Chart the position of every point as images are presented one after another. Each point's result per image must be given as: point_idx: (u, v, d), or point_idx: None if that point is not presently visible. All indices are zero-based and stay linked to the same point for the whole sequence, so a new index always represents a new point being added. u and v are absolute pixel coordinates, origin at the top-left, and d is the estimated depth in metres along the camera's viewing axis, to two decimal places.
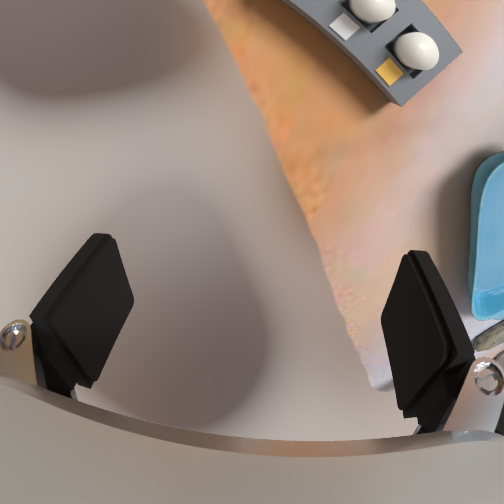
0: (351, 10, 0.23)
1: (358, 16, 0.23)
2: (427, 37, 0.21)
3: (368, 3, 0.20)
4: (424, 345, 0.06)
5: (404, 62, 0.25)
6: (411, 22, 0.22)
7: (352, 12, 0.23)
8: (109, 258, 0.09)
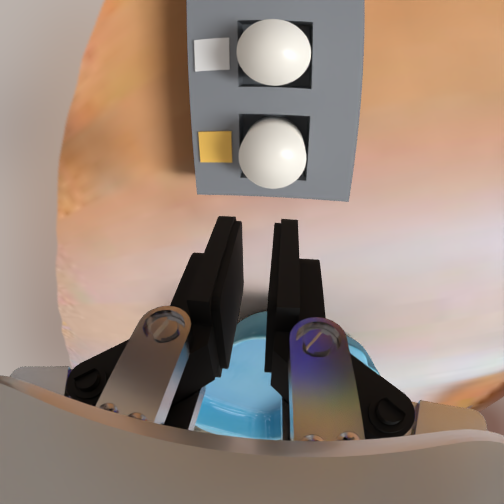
0: None
1: None
2: (300, 149, 0.18)
3: (261, 46, 0.15)
4: None
5: None
6: (311, 115, 0.19)
7: None
8: (239, 241, 0.09)
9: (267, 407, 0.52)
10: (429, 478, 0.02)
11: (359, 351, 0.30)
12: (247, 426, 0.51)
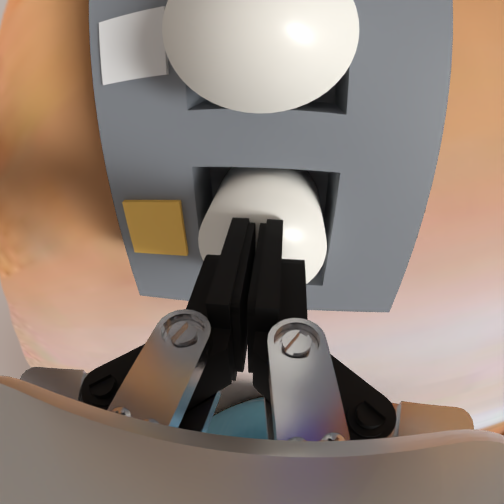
0: None
1: None
2: (317, 235, 0.10)
3: (223, 10, 0.05)
4: None
5: None
6: (342, 171, 0.10)
7: None
8: (253, 243, 0.09)
9: None
10: (429, 478, 0.02)
11: None
12: None
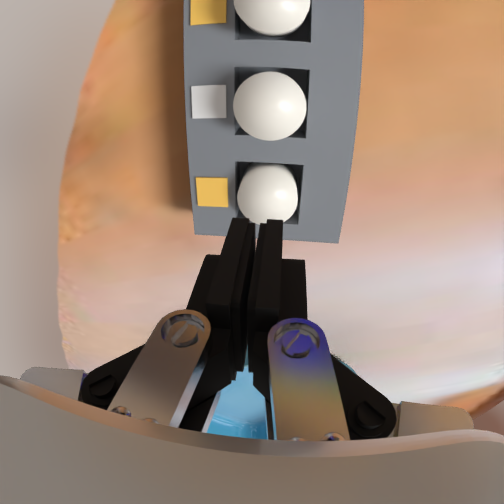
0: None
1: None
2: (293, 192, 0.21)
3: (257, 100, 0.16)
4: None
5: None
6: (305, 164, 0.21)
7: None
8: (253, 243, 0.09)
9: (254, 419, 0.53)
10: (429, 478, 0.02)
11: None
12: (233, 435, 0.52)
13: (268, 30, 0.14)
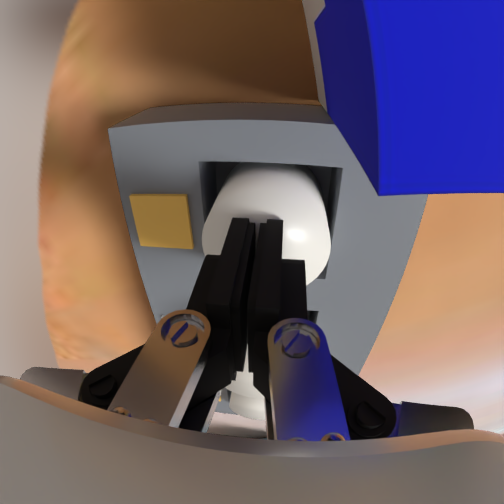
0: None
1: None
2: None
3: (244, 374, 0.14)
4: None
5: None
6: None
7: None
8: (253, 243, 0.09)
9: None
10: (429, 478, 0.02)
11: None
12: None
13: None
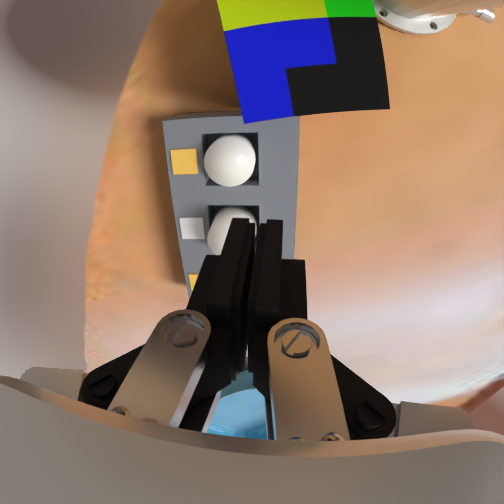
0: None
1: None
2: None
3: (222, 238, 0.28)
4: None
5: None
6: None
7: None
8: (253, 243, 0.09)
9: (242, 427, 0.63)
10: (429, 478, 0.02)
11: None
12: None
13: (228, 185, 0.27)
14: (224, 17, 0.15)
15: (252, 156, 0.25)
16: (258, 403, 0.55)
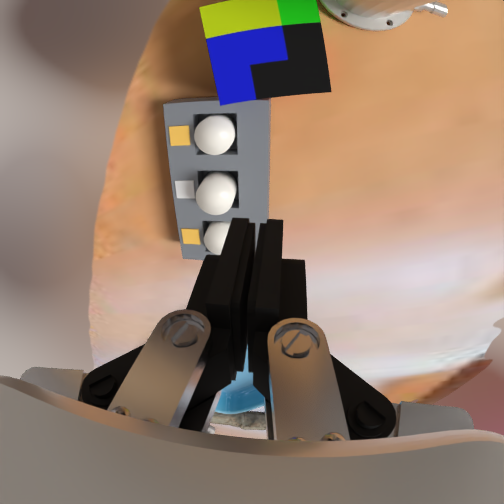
0: None
1: None
2: None
3: (207, 195, 0.34)
4: None
5: None
6: None
7: None
8: (253, 243, 0.09)
9: (229, 388, 0.71)
10: (429, 478, 0.02)
11: None
12: None
13: (212, 154, 0.33)
14: (206, 28, 0.21)
15: (231, 131, 0.31)
16: None
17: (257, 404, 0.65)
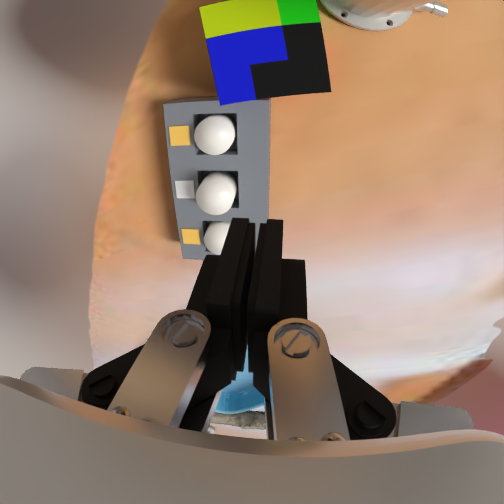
0: None
1: None
2: None
3: (207, 195, 0.34)
4: None
5: None
6: None
7: None
8: (253, 242, 0.09)
9: (228, 388, 0.71)
10: (429, 478, 0.02)
11: None
12: None
13: (212, 154, 0.33)
14: (206, 28, 0.21)
15: (231, 131, 0.31)
16: None
17: (256, 404, 0.65)
